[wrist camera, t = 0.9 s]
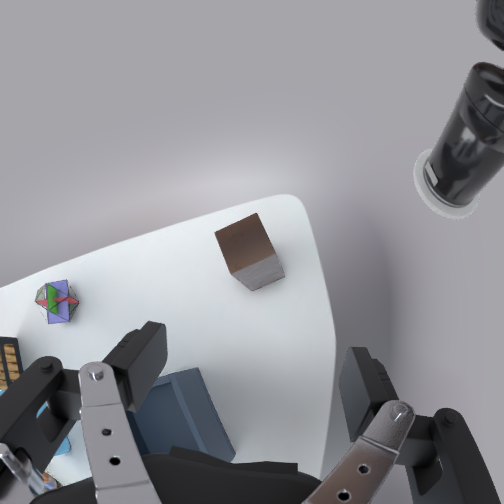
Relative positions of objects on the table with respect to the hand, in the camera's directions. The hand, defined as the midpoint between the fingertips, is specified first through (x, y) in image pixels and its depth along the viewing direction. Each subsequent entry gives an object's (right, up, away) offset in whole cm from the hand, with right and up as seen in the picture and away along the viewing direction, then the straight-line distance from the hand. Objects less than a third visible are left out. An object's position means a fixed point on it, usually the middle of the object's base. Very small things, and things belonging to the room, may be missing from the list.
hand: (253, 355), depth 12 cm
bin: (-10, -18, +20) cm, 29 cm away
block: (+1, +2, +24) cm, 24 cm away
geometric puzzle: (-30, -4, +28) cm, 41 cm away
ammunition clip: (-46, -18, +27) cm, 57 cm away
